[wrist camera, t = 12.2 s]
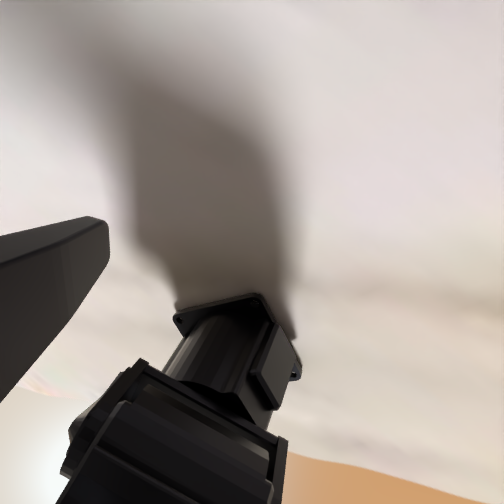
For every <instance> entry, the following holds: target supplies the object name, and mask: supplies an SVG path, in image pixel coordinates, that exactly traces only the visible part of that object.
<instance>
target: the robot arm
mask: <svg viewBox="0 0 504 504" xmlns="http://www.w3.org/2000/svg"><path fill="white" fill-rule="evenodd" d="M109 258H110V243H109V227H108V224H107V223H106V222H105V221H104V220H101V219H97V218H94V217H90V216H85V217H81V218H76V219H72V220H68V221H63V222H59V223H54V224H50V225H46V226H41V227H37V228H33V229H28V230H24V231H20V232H15V233H11V234H7V235H2V236H0V403H1V401H2V400H3V399H4V398H5V397H6V396H7V394H8V393H9V392H10V391H11V390H12V389H13V387H14V386H15V385H16V384H17V383H18V381H19V380H20V379H21V378H22V377H23V375H24V374H25V373H26V372H27V371H28V369H29V368H30V367H31V366H32V365H33V364H34V362H35V361H36V360H37V359H38V358H39V356H40V355H41V354H42V353H43V352H44V350H45V349H46V348H47V347H48V346H49V345H50V343H51V342H52V341H53V340H54V339H55V337H56V336H57V335H58V334H59V333H60V331H61V330H62V329H63V328H64V327H65V325H66V324H67V323H68V322H69V320H70V319H71V318H72V316H73V315H74V313H75V312H76V311H77V309H78V308H79V306H80V305H81V303H82V302H83V300H84V299H85V297H86V296H87V294H88V293H89V291H90V290H91V288H92V287H93V285H94V284H95V282H96V281H97V279H98V278H99V276H100V275H101V273H102V272H103V270H104V269H105V267H106V266H107V264H108V261H109ZM253 301H257V302H258V303H259V304H256V303H254V302H253ZM180 318H182V319H183V320H182V319H180ZM173 322H174V323H175V325H176V326H177V328H178V330H179V331H180V333H181V334H182V336H183V339H182V340H181V342H180V344H179V345H178V347H177V348H176V350H175V351H174V353H173V354H172V356H171V357H170V359H169V361H168V362H167V364H166V365H165V367H164V368H163V370H162V371H159V370H157V369H156V368H154V367H152V366H150V365H149V362H147V361H145V360H143V359H141V358H139V359H138V361H137V362H136V363H135V364H134V365H133V366H132V368H130V367H128V368H127V369H126V370H125V371H124V372H120V373H119V374H118V376H117V377H116V378H115V380H114V381H113V382H112V384H111V385H110V386H109V388H108V389H107V390H106V392H105V393H104V394H103V395H102V396H101V397H100V398H99V399H98V400H97V401H96V402H94V403H93V404H92V405H91V406H90V407H88V408H87V409H86V410H85V411H84V412H83V413H81V414H80V415H79V416H78V417H77V418H76V419H75V420H74V421H73V422H72V424H71V426H70V427H69V429H68V432H69V439H70V446H69V448H68V450H67V453H66V458H65V460H64V462H63V464H62V467H61V469H60V474H61V475H63V476H65V477H66V478H68V479H70V480H69V482H68V484H67V485H66V487H65V489H64V490H63V492H62V494H61V495H60V497H59V499H58V500H57V502H56V504H281V501H282V493H283V484H284V475H285V465H286V457H287V449H288V440H286V439H284V438H282V437H280V436H278V437H277V436H275V435H273V434H271V433H270V432H268V431H266V430H267V427H268V424H269V421H270V418H271V415H272V412H273V411H275V410H278V409H279V408H280V406H281V403H282V400H283V397H284V394H285V391H286V388H287V384H288V382H289V381H297V380H299V379H300V378H301V375H302V369H301V367H300V365H299V363H298V361H297V359H296V354H295V352H294V350H293V348H292V347H291V345H290V343H289V341H288V339H287V337H286V335H285V333H284V331H283V330H282V328H281V326H280V325H279V324H278V323H277V322H276V320H275V318H274V316H273V314H272V312H271V310H270V308H269V307H268V305H267V303H266V301H265V299H264V298H263V296H262V295H260V294H258V293H251V294H247V295H243V296H239V297H234V298H230V299H226V300H221V301H217V302H213V303H208V304H204V305H200V306H195V307H191V308H187V309H183V310H178V311H177V312H176V313H175V314H174V316H173ZM293 372H295V373H293Z"/></svg>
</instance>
